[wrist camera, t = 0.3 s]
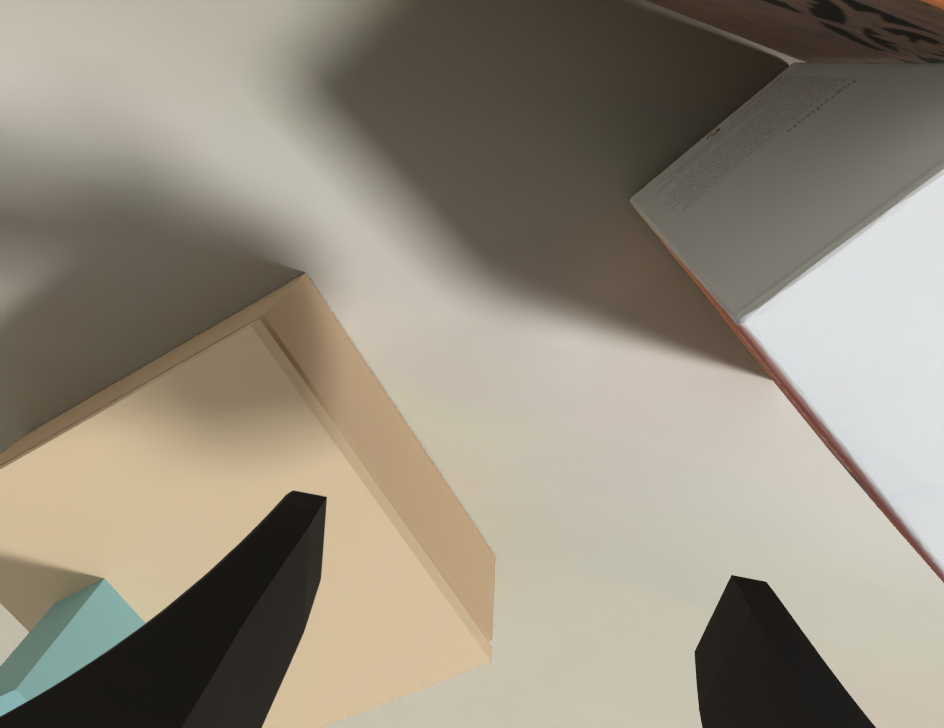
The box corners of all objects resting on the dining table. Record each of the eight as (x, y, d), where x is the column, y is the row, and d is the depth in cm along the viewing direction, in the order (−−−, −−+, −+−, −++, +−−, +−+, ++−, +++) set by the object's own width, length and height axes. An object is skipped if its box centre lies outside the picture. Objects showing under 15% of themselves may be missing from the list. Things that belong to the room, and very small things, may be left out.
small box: (623, 197, 21) (721, 314, 11) (794, 55, 19) (1087, 45, 9) (779, 389, 23) (977, 633, 13) (945, 277, 21) (1316, 459, 11)
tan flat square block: (186, 767, 25) (118, 914, 20) (-69, 505, 21) (-218, 617, 17) (491, 646, 22) (486, 787, 17) (259, 318, 18) (180, 396, 14)
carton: (232, 669, 28) (190, 759, 25) (25, 435, 25) (-61, 499, 21) (495, 556, 26) (491, 639, 22) (305, 272, 22) (263, 314, 18)
